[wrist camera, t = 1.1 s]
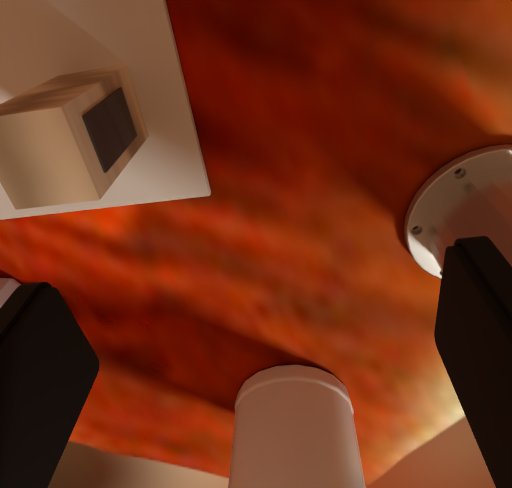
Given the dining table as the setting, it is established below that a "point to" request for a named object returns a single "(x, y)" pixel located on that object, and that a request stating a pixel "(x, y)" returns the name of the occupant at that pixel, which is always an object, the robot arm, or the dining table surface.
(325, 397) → the bottle
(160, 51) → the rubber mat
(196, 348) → the dining table surface
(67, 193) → the maple block
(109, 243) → the dining table surface
